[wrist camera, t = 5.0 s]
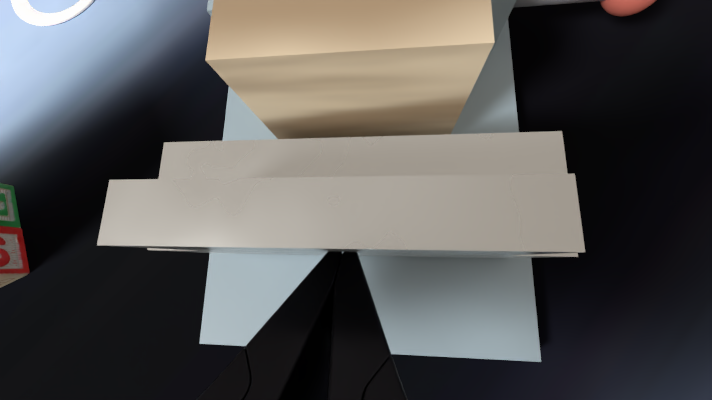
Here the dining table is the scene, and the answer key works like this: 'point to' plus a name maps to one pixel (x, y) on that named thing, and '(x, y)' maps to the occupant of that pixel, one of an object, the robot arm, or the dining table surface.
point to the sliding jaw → (355, 197)
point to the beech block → (351, 63)
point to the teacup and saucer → (48, 19)
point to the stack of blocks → (11, 239)
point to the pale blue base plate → (399, 273)
